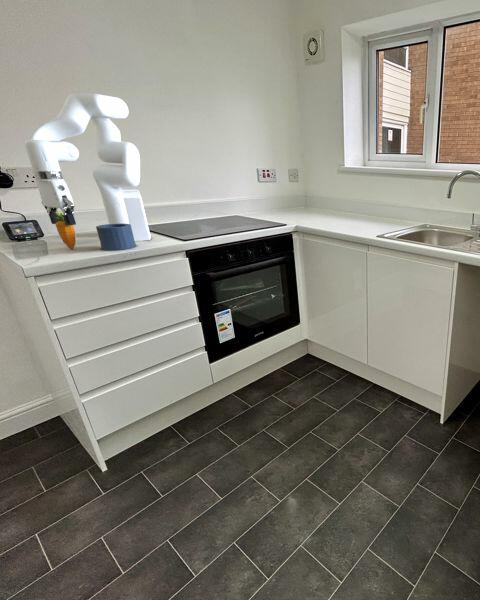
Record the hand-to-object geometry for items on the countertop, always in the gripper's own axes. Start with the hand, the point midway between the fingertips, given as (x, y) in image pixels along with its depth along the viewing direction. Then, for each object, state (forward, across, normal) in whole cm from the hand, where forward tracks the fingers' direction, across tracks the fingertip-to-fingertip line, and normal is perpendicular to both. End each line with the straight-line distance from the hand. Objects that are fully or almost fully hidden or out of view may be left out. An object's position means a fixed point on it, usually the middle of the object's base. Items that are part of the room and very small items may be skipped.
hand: (64, 224), depth 137 cm
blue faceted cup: (+10, -12, -10) cm, 19 cm away
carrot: (+10, 0, 0) cm, 10 cm away
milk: (+10, -6, -25) cm, 28 cm away
